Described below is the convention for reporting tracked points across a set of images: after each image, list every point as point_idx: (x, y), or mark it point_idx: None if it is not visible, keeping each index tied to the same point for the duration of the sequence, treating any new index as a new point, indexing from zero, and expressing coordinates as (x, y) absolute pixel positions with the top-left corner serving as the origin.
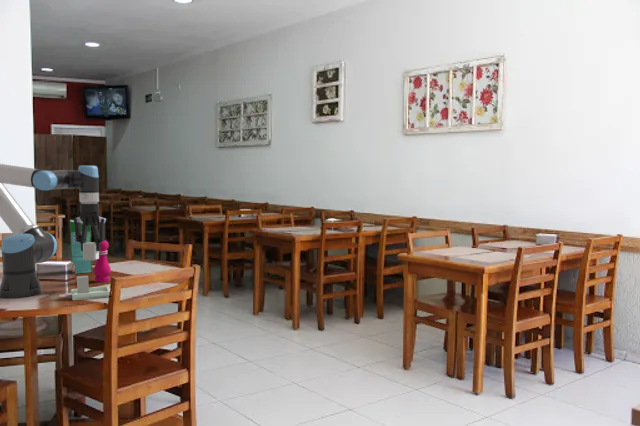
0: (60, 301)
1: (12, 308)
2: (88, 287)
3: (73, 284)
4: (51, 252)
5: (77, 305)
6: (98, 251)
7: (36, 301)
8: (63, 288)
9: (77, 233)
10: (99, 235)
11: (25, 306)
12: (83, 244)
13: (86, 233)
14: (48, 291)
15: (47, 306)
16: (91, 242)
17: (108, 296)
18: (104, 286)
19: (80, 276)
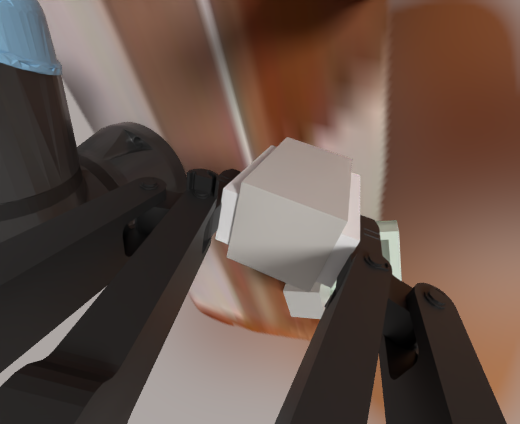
0: (269, 285)
1: (199, 298)
2: (329, 292)
3: (239, 40)
4: (40, 80)
5: (315, 330)
6: (358, 201)
7: (217, 265)
8: (226, 123)
9: (94, 284)
10: (381, 328)
11: (214, 294)
12: (224, 238)
13: (177, 282)
14: (199, 162)
15: (255, 311)
16: (278, 206)
17: None
18: (381, 233)
19: (296, 296)
